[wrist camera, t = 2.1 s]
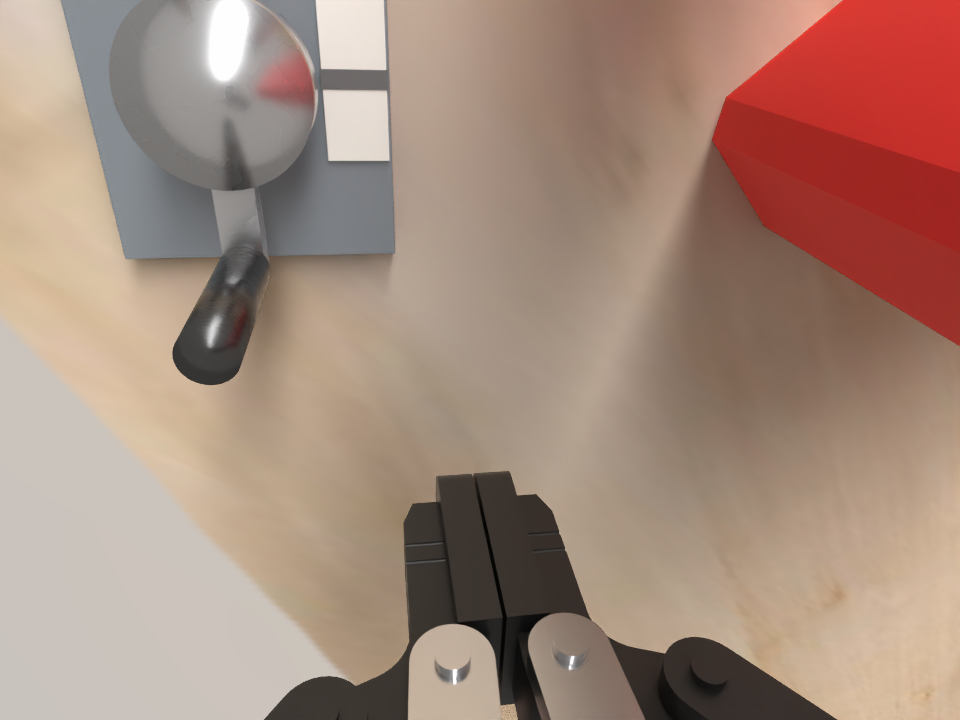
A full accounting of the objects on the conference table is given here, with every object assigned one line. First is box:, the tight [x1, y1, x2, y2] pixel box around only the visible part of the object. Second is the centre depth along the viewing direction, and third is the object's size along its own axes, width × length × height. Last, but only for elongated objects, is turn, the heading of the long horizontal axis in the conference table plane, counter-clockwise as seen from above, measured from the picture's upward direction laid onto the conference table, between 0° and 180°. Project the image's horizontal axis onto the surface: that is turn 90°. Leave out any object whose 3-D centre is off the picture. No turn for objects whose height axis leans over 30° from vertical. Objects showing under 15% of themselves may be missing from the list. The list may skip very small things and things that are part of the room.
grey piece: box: [109, 0, 318, 385], centre depth 19 cm, size 6×13×8 cm, turn 178°
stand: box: [61, 0, 395, 259], centre depth 24 cm, size 11×14×4 cm
